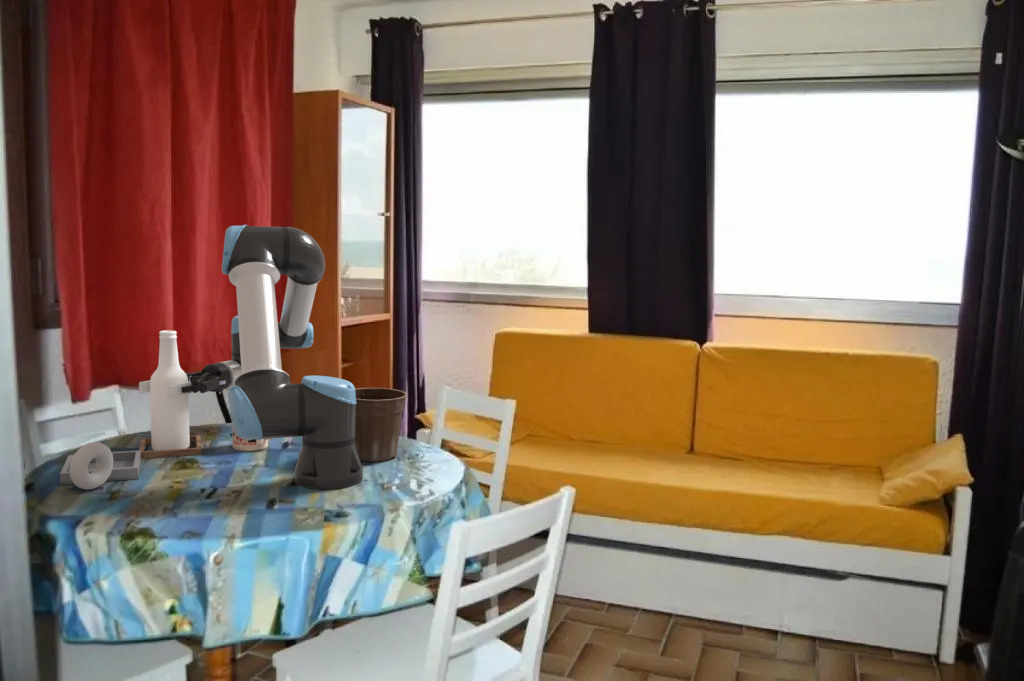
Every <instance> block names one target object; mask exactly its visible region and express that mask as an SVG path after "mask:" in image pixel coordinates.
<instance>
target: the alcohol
mask: <svg viewBox="0 0 1024 681" xmlns="http://www.w3.org/2000/svg"><path fill="white" fill-rule="evenodd" d="M177 333H178V332H177V331H176V330H171V329H170V330H169V329H168V330H166V329H165V330H160V331H159V333H158V334H159V336H158V338H159V348H158V350H159V351H158V365H157V368H156V369H155V370H154V372H153V373H152V374H151V376H150V379H149V380H150V392H149V397H150V399H149V400H150V432H151V433H150V434H151V437H150V438H151V440H152V445H151V449H152V451H158V450H173V449H187V448H190V444H191V442H190V436H191V435H190V400H189V399H190V396H189V395H190V393H189V394H184V395H180V396H175V397H169V387H168V386H172V385H177V384H182V383H186V382H188V378H187V375H186V373H185V372H186V371H185V370H183V369H182V367H181V365H180V361H179V351H178V342H177V338H178V336H177Z"/></svg>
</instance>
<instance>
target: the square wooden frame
mask: <svg viewBox="0 0 1024 681" xmlns="http://www.w3.org/2000/svg"><path fill="white" fill-rule="evenodd" d="M190 443H195V444H196V445H195V446H196V447H191V448H190V447H188V448H187V449H173V450H158V451H154V450H147V451H146V446H152V440H151V437H147V438H143V437H142V438H141V439H140V444H139V450H141V460H143V459H144V460H145V459H158V458H169V457H170V458H171V457H184V456H186V455H187V456H197V455H198V456H199V455H200V454H201V455H202V451H203V450H202V441H201V434H195V435H190Z"/></svg>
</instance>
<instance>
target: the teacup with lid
mask: <svg viewBox="0 0 1024 681" xmlns="http://www.w3.org/2000/svg"><path fill="white" fill-rule="evenodd" d="M231 426H232V448H233V449H234V450H236V451H240V452H255V451H260V450H261V451H262V450H264V449H266V448H267V447H268V446H269V440H273V439H274V438H269V439H261V440H257V439H241V438H239V437H238V436H237V435H236V433H235V430H234V427H233V424H232V425H231Z"/></svg>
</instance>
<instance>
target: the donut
mask: <svg viewBox="0 0 1024 681" xmlns="http://www.w3.org/2000/svg"><path fill="white" fill-rule="evenodd" d="M111 452H112V451H111V449H110V448H109V446H107V445H106V444H104V443H101V442H98V441H97V442H95V441H94V442H88V443H86V444H84V445H82V446H80V447H79V449H77V450H76V452H74V454H73V455H74V456H73V458H72V460H71V463H70V470H69V472H70V478H71V479H72V481H73V483H74V484H73V485H75V486H77V487H78V488H79V489H83V490H86V491H89V490H95V489H97V488H99V487H101V486H103V485H104V483H105V482H107V481H106V480H107V479H108V477H109V476H110V474H111V471H112V468H113V455H112V453H111ZM93 458H95V460H96V466H95V469H94V470H93V472H92V473H90V474H89V472H88V465H89V462H90V461H91V460H92V459H93Z"/></svg>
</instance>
